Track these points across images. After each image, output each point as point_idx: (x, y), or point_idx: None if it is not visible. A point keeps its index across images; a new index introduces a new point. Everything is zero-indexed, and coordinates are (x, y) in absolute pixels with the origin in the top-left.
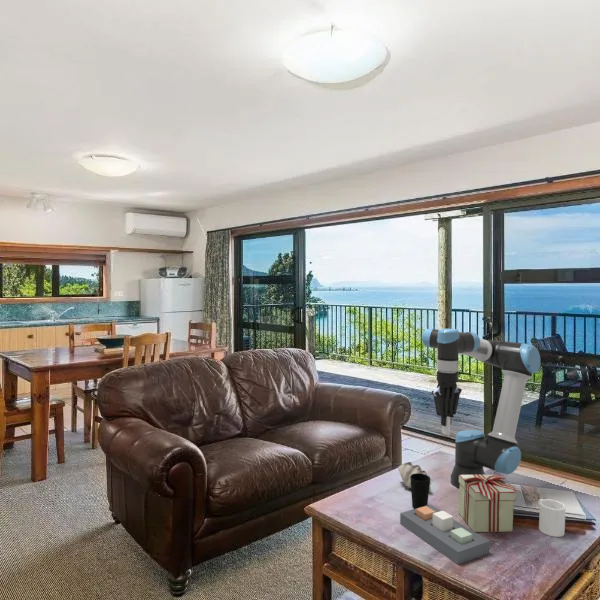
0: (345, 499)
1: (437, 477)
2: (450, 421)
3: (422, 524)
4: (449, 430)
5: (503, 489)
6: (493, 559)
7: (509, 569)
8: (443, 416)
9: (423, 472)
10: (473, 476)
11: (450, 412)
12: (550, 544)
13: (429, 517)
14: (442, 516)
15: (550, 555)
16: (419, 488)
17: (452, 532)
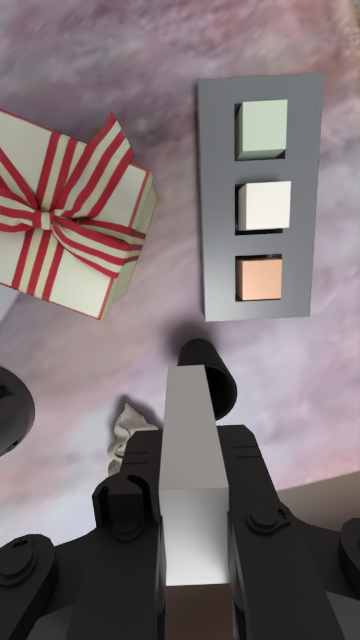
0: (335, 453)
1: (45, 463)
2: (139, 459)
3: (301, 241)
4: (177, 384)
5: (19, 142)
6: (209, 66)
7: (206, 6)
8: (304, 532)
9: (122, 453)
10: (56, 285)
11: (147, 590)
12: (5, 52)
13: (262, 259)
14: (276, 198)
15: (49, 6)
16: (222, 363)
17: (285, 141)
